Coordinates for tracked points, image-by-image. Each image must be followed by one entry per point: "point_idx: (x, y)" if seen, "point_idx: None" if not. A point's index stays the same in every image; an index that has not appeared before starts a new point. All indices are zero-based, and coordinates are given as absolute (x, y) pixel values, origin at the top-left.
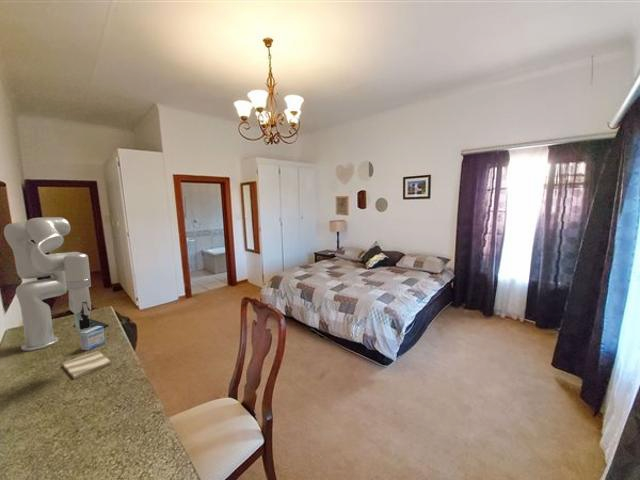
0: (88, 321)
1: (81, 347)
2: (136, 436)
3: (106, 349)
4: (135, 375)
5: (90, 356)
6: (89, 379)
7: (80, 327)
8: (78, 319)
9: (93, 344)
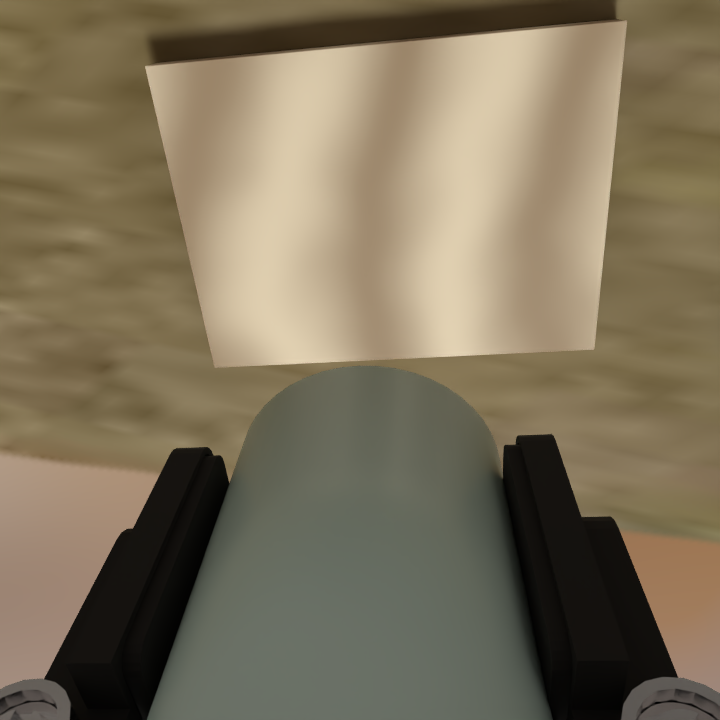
0: None
1: None
2: None
3: (604, 401)
4: None
5: (513, 272)
6: (47, 165)
7: (157, 484)
8: (170, 674)
9: None
